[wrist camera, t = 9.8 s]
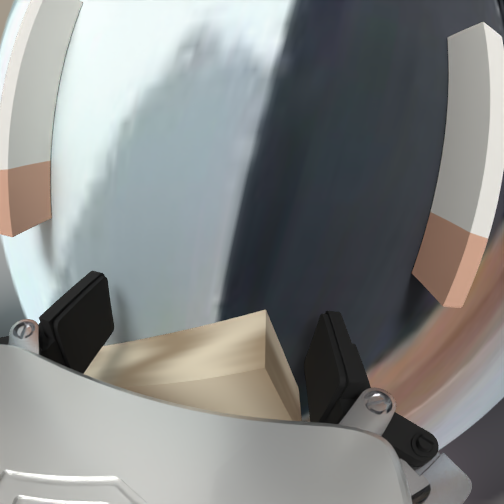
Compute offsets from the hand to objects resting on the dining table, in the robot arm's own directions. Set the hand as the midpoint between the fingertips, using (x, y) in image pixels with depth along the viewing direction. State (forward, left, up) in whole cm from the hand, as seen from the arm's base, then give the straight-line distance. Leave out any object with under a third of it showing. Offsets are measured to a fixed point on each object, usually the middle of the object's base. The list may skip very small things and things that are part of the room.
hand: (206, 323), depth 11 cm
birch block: (+1, +5, -2) cm, 6 cm away
